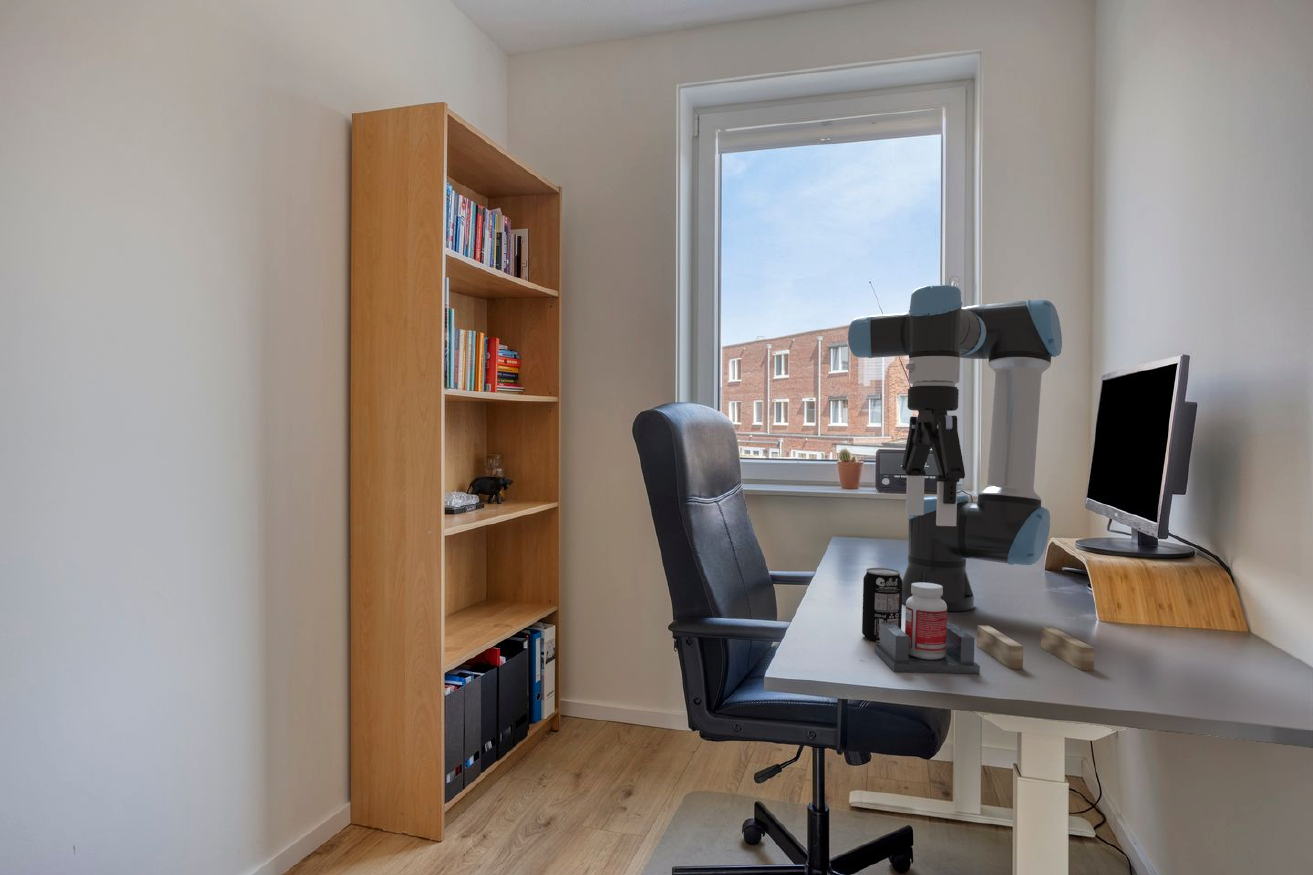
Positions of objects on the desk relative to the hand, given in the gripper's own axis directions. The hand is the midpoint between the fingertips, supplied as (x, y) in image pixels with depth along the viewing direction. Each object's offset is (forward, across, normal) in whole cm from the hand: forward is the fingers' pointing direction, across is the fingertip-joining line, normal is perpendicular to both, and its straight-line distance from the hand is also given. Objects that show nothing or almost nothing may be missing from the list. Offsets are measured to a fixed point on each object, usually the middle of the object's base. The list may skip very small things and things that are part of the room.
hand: (929, 520), depth 116 cm
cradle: (+23, 0, 0) cm, 23 cm away
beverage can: (+23, -13, -3) cm, 26 cm away
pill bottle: (+22, 0, 0) cm, 22 cm away
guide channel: (+23, -4, +19) cm, 30 cm away
